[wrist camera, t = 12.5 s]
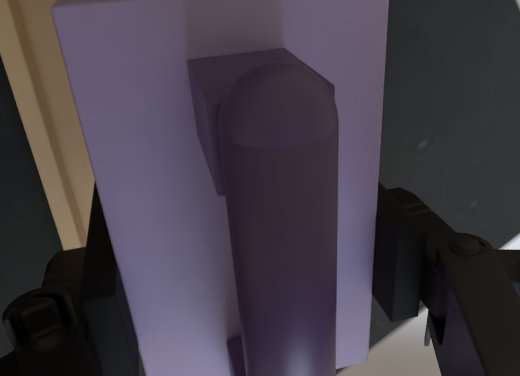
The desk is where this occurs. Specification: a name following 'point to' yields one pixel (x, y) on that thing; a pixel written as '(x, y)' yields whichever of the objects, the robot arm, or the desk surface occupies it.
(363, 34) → the iron
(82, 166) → the tray
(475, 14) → the desk surface
